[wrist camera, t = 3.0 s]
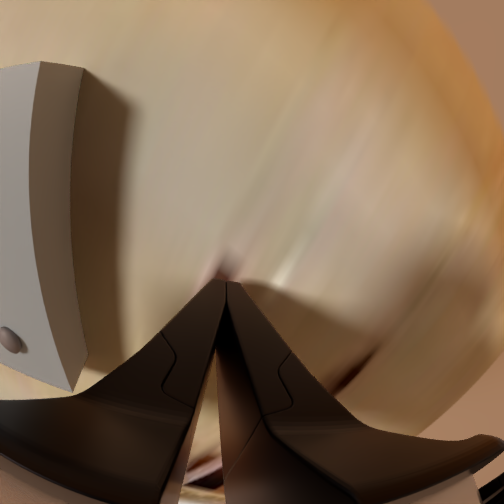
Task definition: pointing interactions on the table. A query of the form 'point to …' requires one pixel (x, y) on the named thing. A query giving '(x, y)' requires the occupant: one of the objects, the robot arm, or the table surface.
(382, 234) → the table surface
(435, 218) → the table surface
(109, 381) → the robot arm
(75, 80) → the leaf
